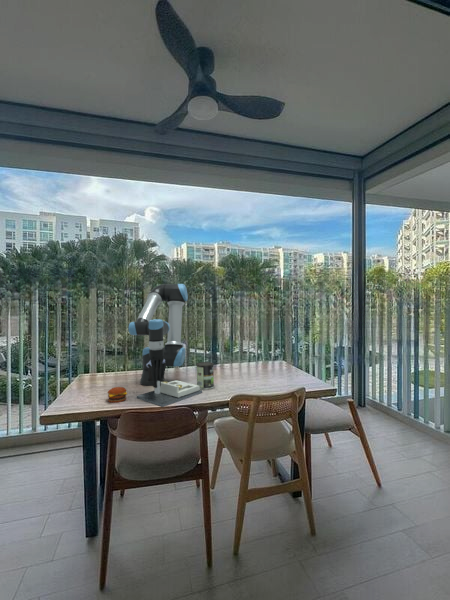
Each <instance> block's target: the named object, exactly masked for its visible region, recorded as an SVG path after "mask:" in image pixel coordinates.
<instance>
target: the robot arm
mask: <svg viewBox="0 0 450 600" xmlns="http://www.w3.org/2000/svg"><path fill="white" fill-rule="evenodd" d="M188 298H189V296H188V288H187V286H186V285H185V284H184V283H162V284H158V285H156V286H155V287H153V288H152V289H151V290H150V291H149V292H148V294H147V297H146V302H145V303H144V305H143V308H142V309H141V311H140V313H139V315H138V317H137V319H136V321H131V322H129V324H128V332H129V335H131V336H148V346H147V347H144V348H142V355H141V356H142V374H141V376H140V379H139V383H140V385H142V386H146V387H147V386H149V387H150V386H153V388H155V393H156V394H159V393H160V386H161V382H162V381H166V380H165V374H166V368H167V367H181V366H182V365H183V364H184V362H185V359H186V348H185V347H184V345H183V343H182V323H183V322H182V320H183V307H184V305H185V304H186V302H188ZM163 302H166V303H167V305H168V307H169V308H168V322H167V321H164V320H163V319H159V318H155V319H152V318H153V317H154V315H155V313H156V310H157V309H158V307H159V305H160V304H162V303H163ZM164 335H167V342H165V344H164Z"/></svg>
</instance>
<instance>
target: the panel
mask: <svg viewBox="0 0 450 600" xmlns="http://www.w3.org/2000/svg"><path fill="white" fill-rule="evenodd" d="M176 385H182V388H180V391H179V386H176ZM153 388H154V387H153ZM199 390H201V389H200V386H198V385H197V384H193V383H189V382H185V381H180V380H177V379H176V380H172V381H169V382H168V383H164V382H161V386H160V392H161V393H164V394H168V395H171V396H175V397H178V398H179V397H181V396H184V395H187V394H190V393H193V392H196V391H199ZM153 391H155V388H154V390H153Z"/></svg>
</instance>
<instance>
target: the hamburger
mask: <svg viewBox="0 0 450 600" xmlns="http://www.w3.org/2000/svg"><path fill="white" fill-rule="evenodd" d="M106 393H107V394H108V395H107V397H108V403H113V404H114V403H115V404H117V403H121V402H125V401H126V400H127V395H128V392H127V389H126V388H124V387H122V386H115V387H112V388H110V389H108V391H107V392H106Z"/></svg>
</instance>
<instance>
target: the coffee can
mask: <svg viewBox="0 0 450 600" xmlns="http://www.w3.org/2000/svg"><path fill="white" fill-rule="evenodd" d="M195 365H196V385H198V386H200V390H202V391H203V390H204V389H205V390H212V389H213V388H215V384H214V383H215V382H214V381H215V380H214V379H215V377H214V376H215V375H214V372H215V371H214V362H211V361H202V362H198V363H196V364H195ZM211 388H212V389H211Z"/></svg>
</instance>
